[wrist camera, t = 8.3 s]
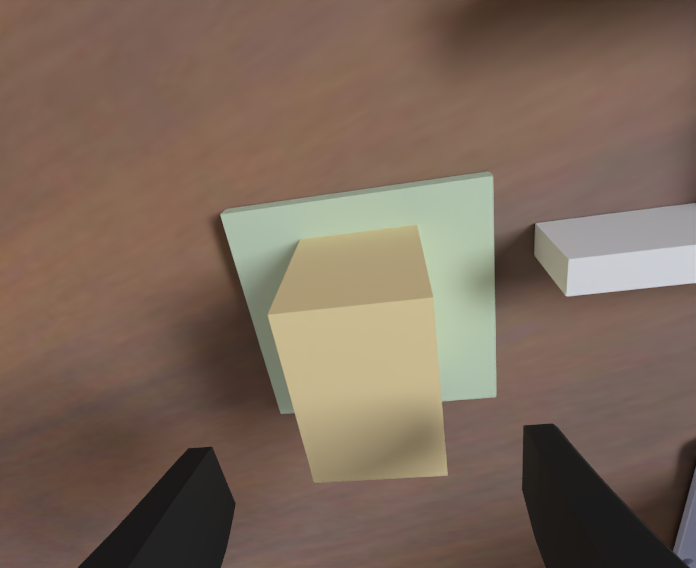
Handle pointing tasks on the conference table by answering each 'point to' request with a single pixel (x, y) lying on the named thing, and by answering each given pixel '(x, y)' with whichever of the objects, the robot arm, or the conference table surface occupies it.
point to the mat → (379, 213)
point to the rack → (620, 250)
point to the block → (362, 355)
